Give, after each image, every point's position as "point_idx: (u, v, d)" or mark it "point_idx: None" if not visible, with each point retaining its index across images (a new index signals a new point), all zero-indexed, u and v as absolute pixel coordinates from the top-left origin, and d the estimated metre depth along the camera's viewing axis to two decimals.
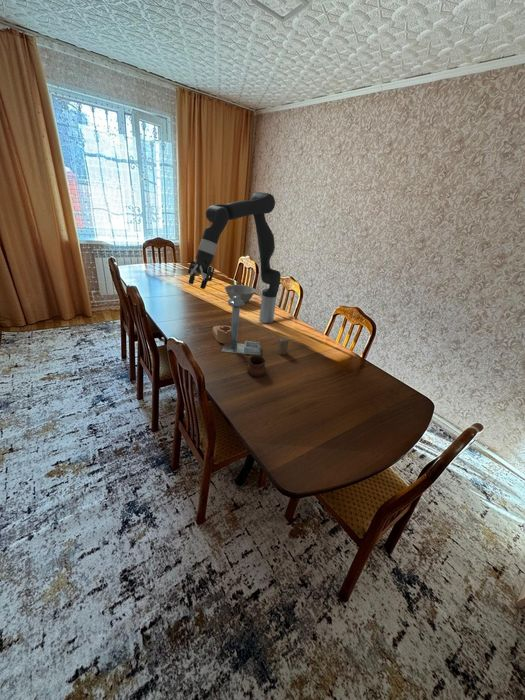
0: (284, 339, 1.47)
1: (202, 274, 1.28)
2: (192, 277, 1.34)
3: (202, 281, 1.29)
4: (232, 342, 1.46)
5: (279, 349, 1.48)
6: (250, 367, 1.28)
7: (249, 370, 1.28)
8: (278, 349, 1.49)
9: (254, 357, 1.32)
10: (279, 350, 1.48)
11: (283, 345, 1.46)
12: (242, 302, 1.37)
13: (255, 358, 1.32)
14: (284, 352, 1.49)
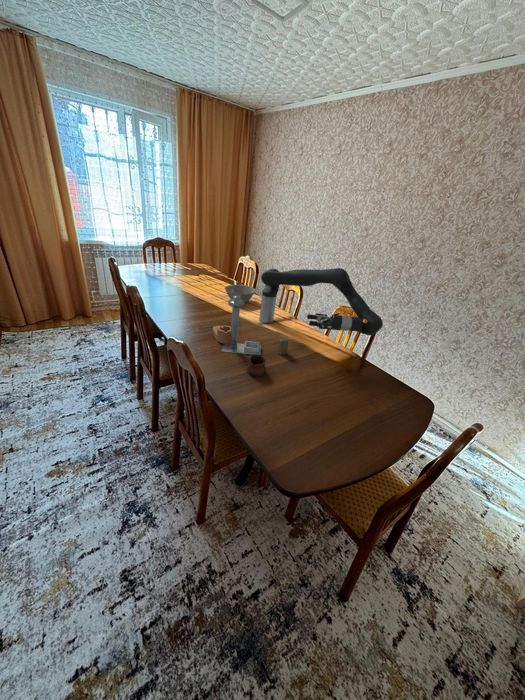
0: (284, 339, 1.47)
1: (318, 321, 1.45)
2: None
3: None
4: (232, 342, 1.46)
5: (279, 349, 1.48)
6: (250, 367, 1.28)
7: (249, 369, 1.29)
8: (278, 349, 1.49)
9: (255, 357, 1.32)
10: (279, 350, 1.48)
11: (283, 345, 1.46)
12: (242, 302, 1.37)
13: (256, 357, 1.32)
14: (284, 352, 1.49)
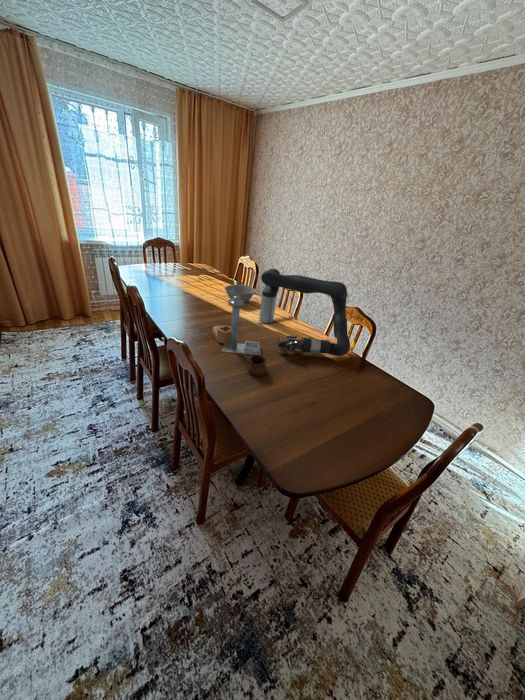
0: (284, 339, 1.47)
1: None
2: None
3: None
4: (232, 342, 1.46)
5: (279, 349, 1.48)
6: (250, 366, 1.28)
7: (249, 369, 1.29)
8: (278, 349, 1.49)
9: (255, 356, 1.32)
10: (279, 350, 1.48)
11: None
12: (242, 302, 1.37)
13: (256, 357, 1.33)
14: (284, 352, 1.49)
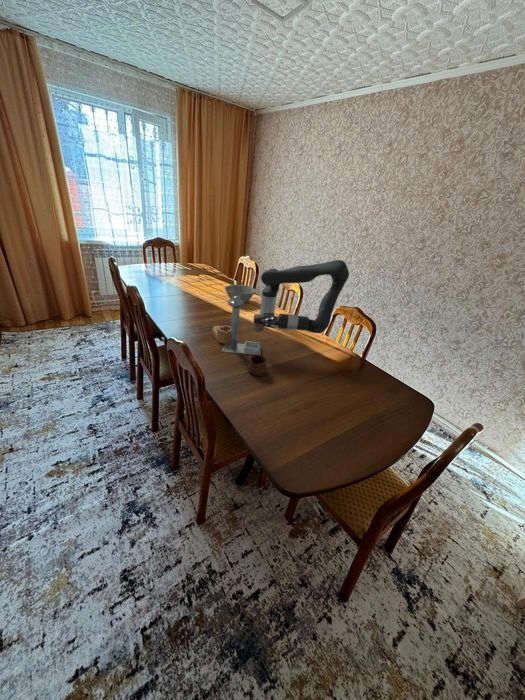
0: (260, 315, 1.41)
1: None
2: None
3: None
4: (232, 342, 1.46)
5: (255, 326, 1.42)
6: (251, 366, 1.29)
7: (250, 369, 1.29)
8: (254, 326, 1.43)
9: (255, 356, 1.32)
10: (255, 327, 1.42)
11: None
12: (242, 302, 1.37)
13: (257, 357, 1.33)
14: (260, 329, 1.43)
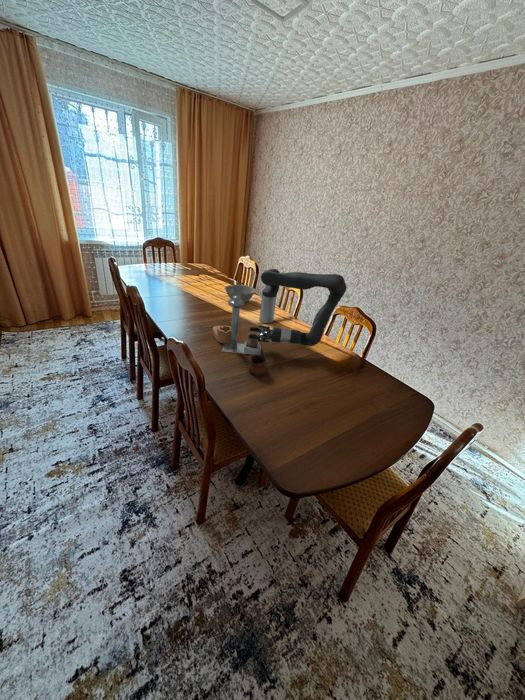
0: None
1: (261, 333, 1.49)
2: None
3: None
4: (232, 342, 1.46)
5: (248, 345, 1.47)
6: (251, 366, 1.29)
7: (250, 369, 1.29)
8: (248, 345, 1.48)
9: (256, 356, 1.33)
10: (248, 346, 1.47)
11: (253, 341, 1.45)
12: (242, 302, 1.37)
13: (257, 357, 1.33)
14: None
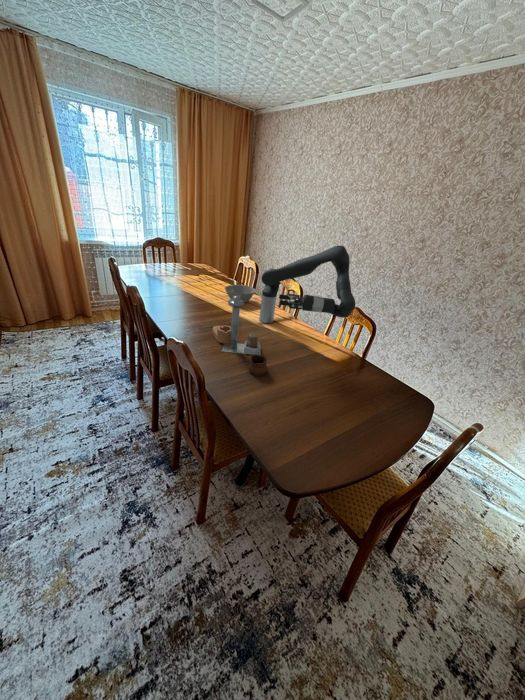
0: (253, 335, 1.46)
1: None
2: None
3: None
4: (232, 342, 1.46)
5: (248, 345, 1.47)
6: (251, 365, 1.29)
7: (250, 368, 1.30)
8: (248, 345, 1.48)
9: (257, 356, 1.33)
10: (248, 346, 1.47)
11: (252, 341, 1.45)
12: (242, 302, 1.37)
13: (258, 357, 1.33)
14: None
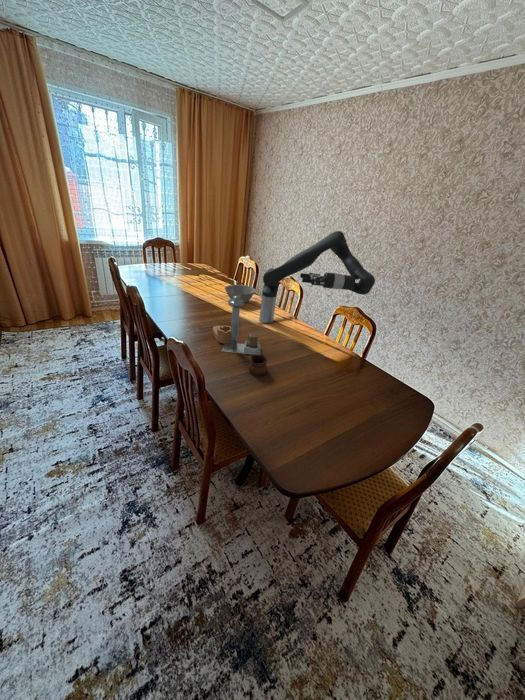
0: (253, 335, 1.46)
1: None
2: None
3: (306, 278, 1.46)
4: (232, 342, 1.46)
5: (248, 345, 1.47)
6: (251, 365, 1.29)
7: (250, 368, 1.30)
8: (248, 345, 1.48)
9: (257, 356, 1.33)
10: (248, 346, 1.47)
11: (252, 341, 1.45)
12: (242, 302, 1.37)
13: (258, 357, 1.33)
14: None
